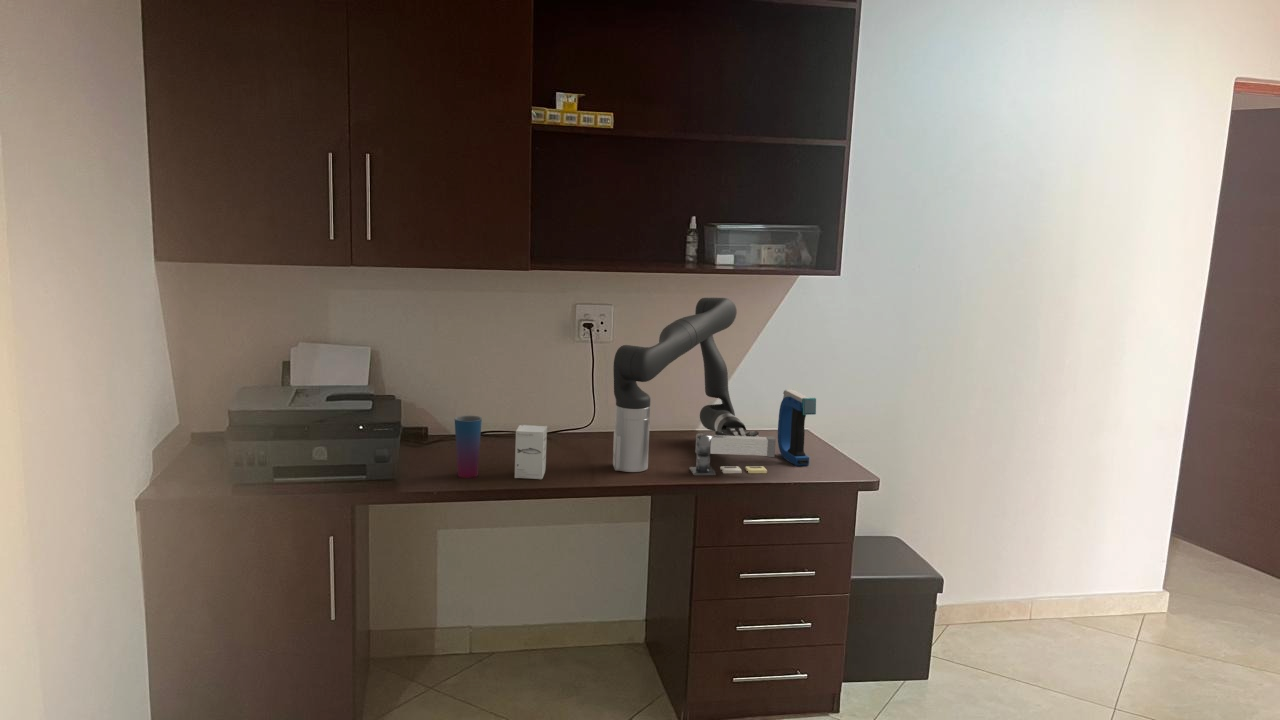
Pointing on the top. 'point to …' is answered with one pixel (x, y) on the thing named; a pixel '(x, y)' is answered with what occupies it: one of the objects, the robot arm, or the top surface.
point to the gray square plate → (702, 466)
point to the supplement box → (530, 451)
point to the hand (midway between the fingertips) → (744, 444)
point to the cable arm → (735, 445)
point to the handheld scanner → (794, 426)
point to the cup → (467, 445)
